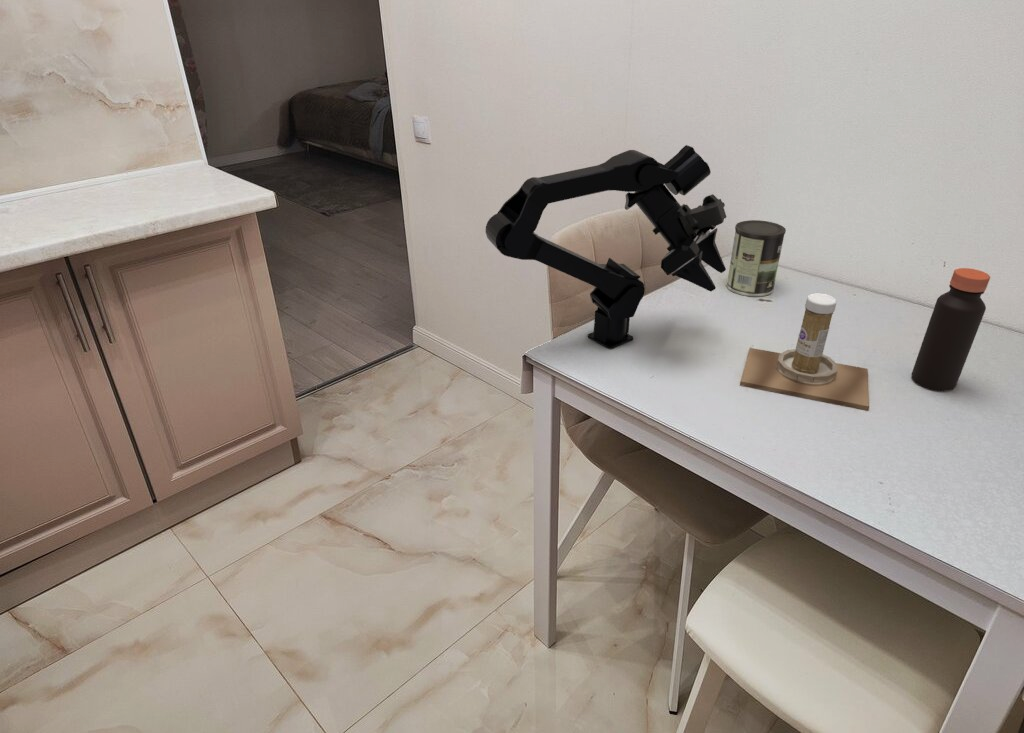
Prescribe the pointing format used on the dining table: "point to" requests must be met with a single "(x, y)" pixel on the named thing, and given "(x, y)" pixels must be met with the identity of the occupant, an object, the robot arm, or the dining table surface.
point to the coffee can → (755, 257)
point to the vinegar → (951, 331)
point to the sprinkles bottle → (813, 332)
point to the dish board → (807, 379)
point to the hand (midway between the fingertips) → (718, 280)
